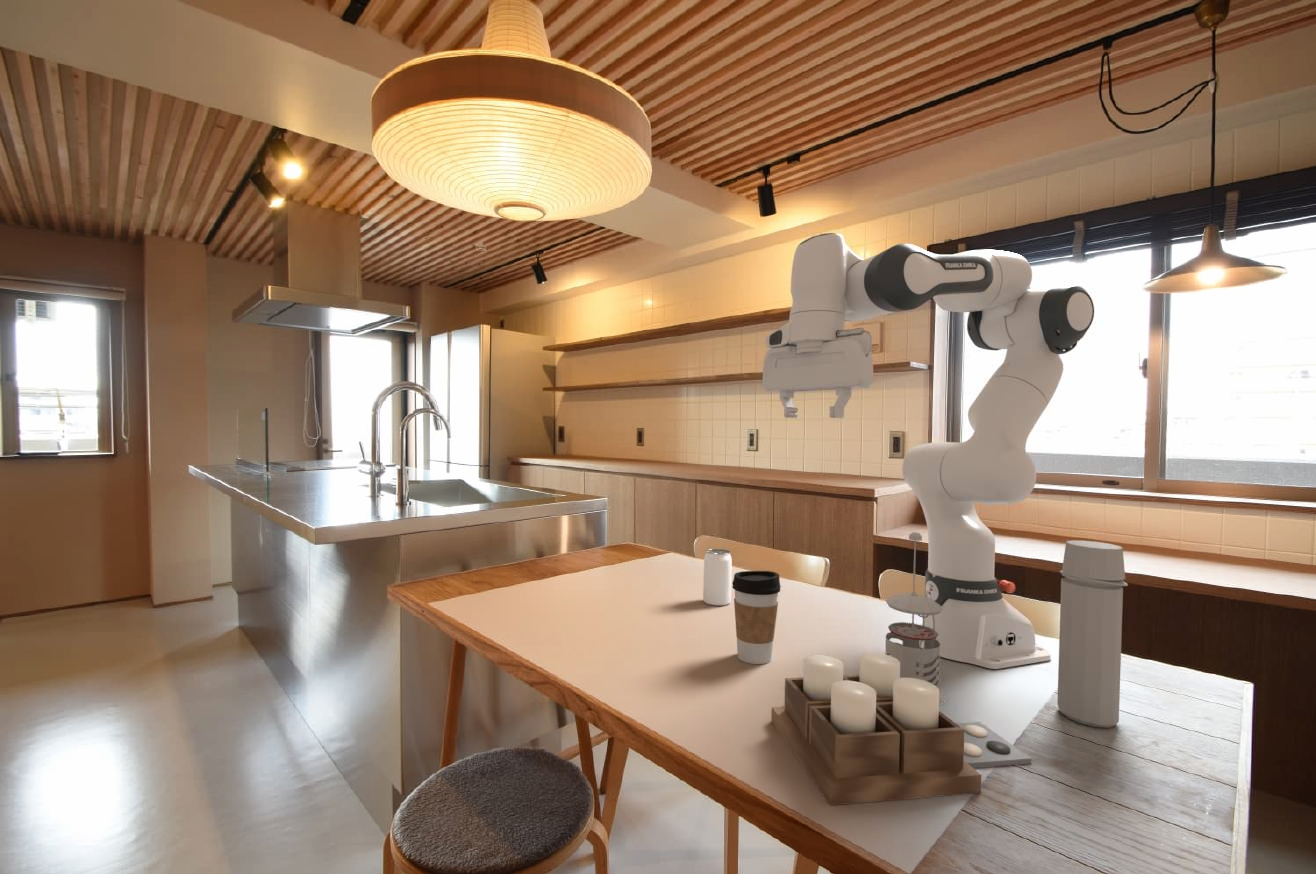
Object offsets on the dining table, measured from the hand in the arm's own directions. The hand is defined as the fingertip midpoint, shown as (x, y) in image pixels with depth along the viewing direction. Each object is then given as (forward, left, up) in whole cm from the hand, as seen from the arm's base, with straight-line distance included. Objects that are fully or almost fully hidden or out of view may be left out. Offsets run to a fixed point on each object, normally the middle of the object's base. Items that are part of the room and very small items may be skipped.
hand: (812, 417), depth 95 cm
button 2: (+6, +27, -38) cm, 47 cm away
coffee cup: (+6, -8, -43) cm, 44 cm away
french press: (-15, +7, -43) cm, 46 cm away
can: (+4, -41, -43) cm, 59 cm away
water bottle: (-36, +18, -43) cm, 59 cm away
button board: (+2, +23, -43) cm, 49 cm away
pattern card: (-13, +23, -43) cm, 50 cm away
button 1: (+6, +19, -38) cm, 43 cm away
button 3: (-2, +19, -38) cm, 42 cm away
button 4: (-2, +27, -38) cm, 46 cm away
